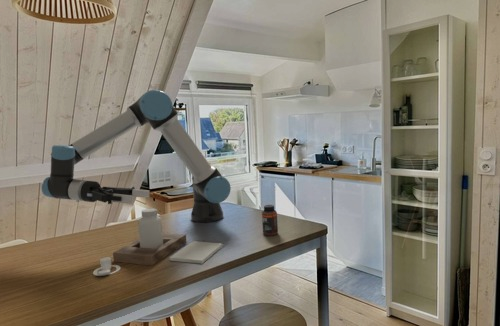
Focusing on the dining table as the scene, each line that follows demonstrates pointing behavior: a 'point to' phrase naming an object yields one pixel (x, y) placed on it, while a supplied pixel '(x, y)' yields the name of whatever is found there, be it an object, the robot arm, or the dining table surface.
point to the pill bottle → (150, 229)
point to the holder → (149, 250)
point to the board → (196, 252)
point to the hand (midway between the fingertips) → (140, 196)
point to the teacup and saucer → (105, 267)
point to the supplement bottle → (269, 220)
